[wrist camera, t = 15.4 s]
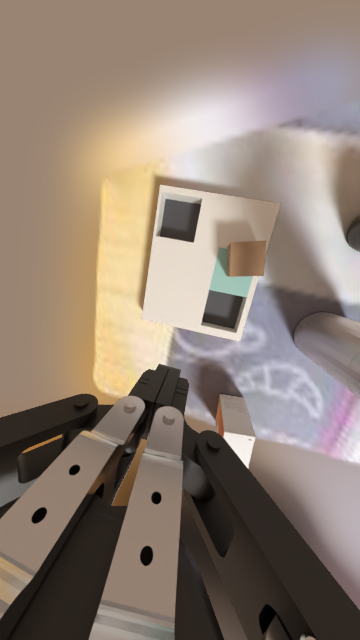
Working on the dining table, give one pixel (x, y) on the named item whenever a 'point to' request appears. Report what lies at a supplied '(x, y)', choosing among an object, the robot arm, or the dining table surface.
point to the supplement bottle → (354, 234)
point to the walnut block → (246, 258)
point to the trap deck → (203, 260)
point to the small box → (235, 426)
